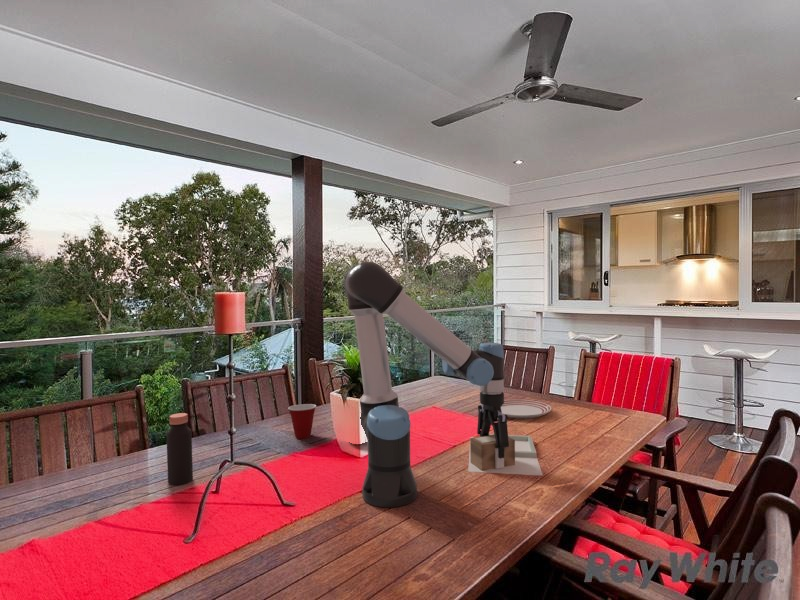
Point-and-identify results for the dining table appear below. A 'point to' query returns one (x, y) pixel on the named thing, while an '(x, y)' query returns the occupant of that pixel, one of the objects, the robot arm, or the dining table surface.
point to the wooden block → (489, 452)
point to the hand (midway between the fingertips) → (492, 462)
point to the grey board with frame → (517, 459)
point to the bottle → (179, 450)
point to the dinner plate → (524, 409)
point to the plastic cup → (302, 419)
